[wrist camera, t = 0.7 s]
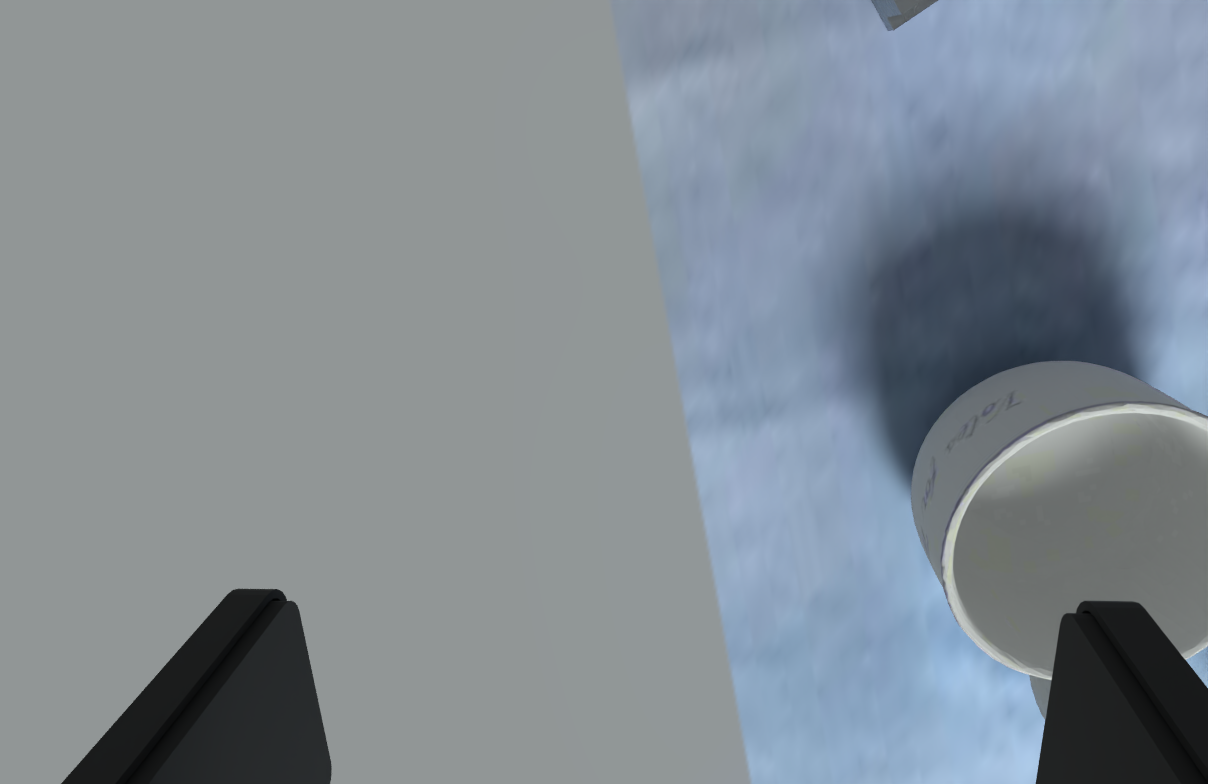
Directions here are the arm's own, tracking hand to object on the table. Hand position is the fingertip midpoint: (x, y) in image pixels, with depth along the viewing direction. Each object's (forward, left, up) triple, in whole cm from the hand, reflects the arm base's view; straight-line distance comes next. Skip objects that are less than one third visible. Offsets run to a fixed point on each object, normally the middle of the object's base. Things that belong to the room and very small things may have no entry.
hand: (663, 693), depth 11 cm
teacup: (-6, +16, -26) cm, 31 cm away
